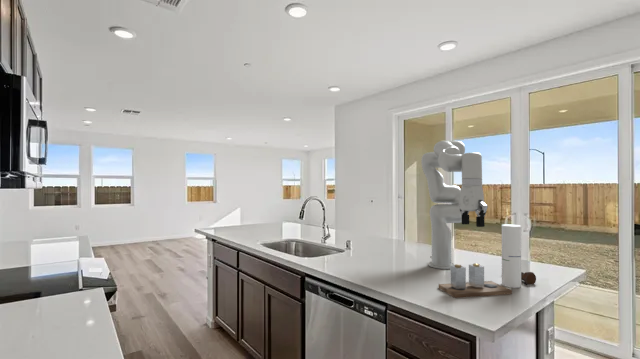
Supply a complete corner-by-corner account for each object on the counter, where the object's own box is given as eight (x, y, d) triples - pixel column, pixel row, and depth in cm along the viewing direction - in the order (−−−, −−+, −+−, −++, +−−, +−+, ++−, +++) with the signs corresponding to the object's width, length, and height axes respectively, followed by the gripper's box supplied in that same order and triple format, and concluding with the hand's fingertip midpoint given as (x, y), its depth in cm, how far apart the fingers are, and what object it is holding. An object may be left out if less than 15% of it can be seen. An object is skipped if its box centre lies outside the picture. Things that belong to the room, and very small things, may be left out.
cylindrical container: (521, 288, 137) (520, 227, 137) (501, 285, 141) (500, 225, 140) (521, 284, 143) (521, 225, 143) (502, 281, 147) (502, 223, 147)
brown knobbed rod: (505, 278, 157) (533, 287, 142) (497, 274, 156) (524, 282, 141) (510, 267, 158) (538, 275, 143) (502, 262, 157) (529, 270, 142)
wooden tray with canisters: (438, 287, 138) (438, 262, 138) (491, 284, 142) (491, 259, 142) (455, 298, 126) (455, 269, 126) (511, 294, 130) (511, 266, 130)
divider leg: (468, 284, 136) (468, 263, 136) (477, 283, 137) (477, 262, 137) (475, 287, 132) (474, 265, 132) (484, 286, 133) (484, 265, 133)
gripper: (451, 183, 145) (452, 223, 144) (476, 182, 128) (477, 228, 127) (467, 183, 146) (468, 223, 146) (494, 182, 129) (495, 227, 129)
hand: (472, 225), depth 136 cm, fingers open, 9 cm apart
